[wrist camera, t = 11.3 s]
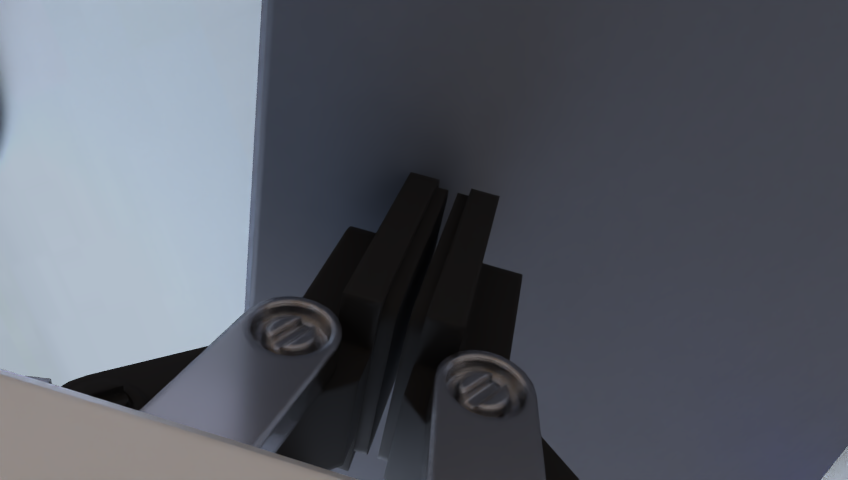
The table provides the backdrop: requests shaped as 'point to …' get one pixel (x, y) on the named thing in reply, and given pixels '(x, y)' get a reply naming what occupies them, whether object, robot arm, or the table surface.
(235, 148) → the table surface
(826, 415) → the laptop screen
